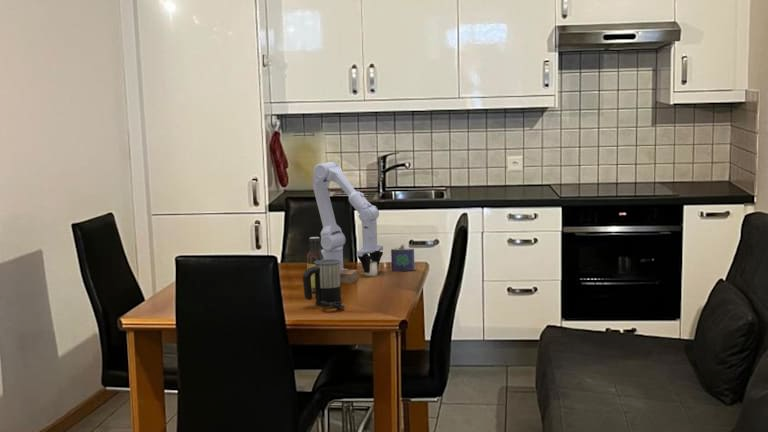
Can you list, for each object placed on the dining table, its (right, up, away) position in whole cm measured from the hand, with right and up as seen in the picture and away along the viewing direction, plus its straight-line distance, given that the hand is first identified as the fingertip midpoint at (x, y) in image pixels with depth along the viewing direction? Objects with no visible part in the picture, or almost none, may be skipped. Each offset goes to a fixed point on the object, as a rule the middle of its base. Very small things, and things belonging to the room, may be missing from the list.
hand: (371, 271), depth 360 cm
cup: (0, -1, 0) cm, 1 cm away
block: (-10, -4, -10) cm, 14 cm away
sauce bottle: (-20, -6, -25) cm, 32 cm away
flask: (+13, 0, +6) cm, 14 cm away
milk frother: (-13, -9, -48) cm, 50 cm away
